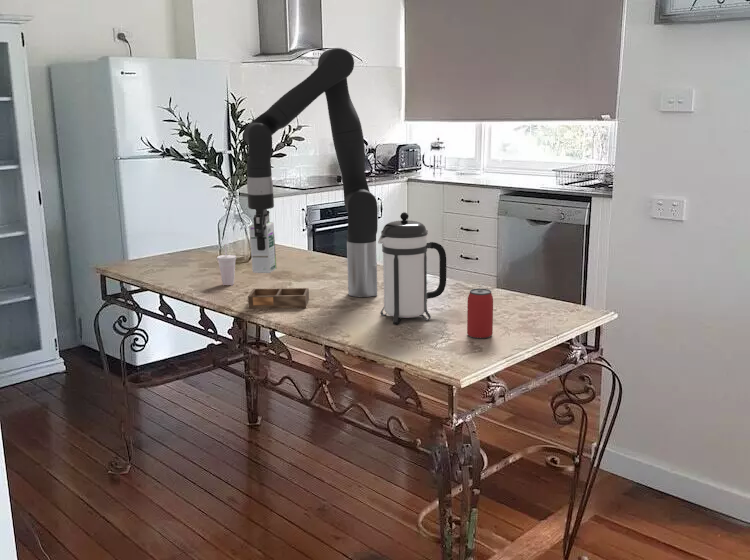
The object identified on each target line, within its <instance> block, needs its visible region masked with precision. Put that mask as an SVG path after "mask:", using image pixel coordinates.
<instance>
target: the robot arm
mask: <svg viewBox="0 0 750 560" xmlns="http://www.w3.org/2000/svg"><path fill="white" fill-rule="evenodd" d="M354 67H355V60H354V57H353V55H352V53H351V52H350V51H349V50H347V49H345V48H342V47H333V48H331V49H328V50H325V51H323V52H322V53H321V54H320V56H319V57H318V62H317V68H316V69H315V70H314V71H313V72H312V73H311V74H309V76H308V77H306V78H305V79H303V81H301V82H299V83H298V84H297V85H295V86H294V87H293V88H291V89H289V90H288V91H287V92H285V93H284V95H282V96H281V97H280V98H279V99H277V100H276V101H275V102H274V103H273V104H272V105H270V106H269V108H268V109H267V110H266V111H264V112H263V113H261V114H259V116H257V117H256V118H254V119H253V120H252V121H250V122H249V124H247V125H246V126H245V128H244V130H243V132H242V133H243V140H244V142H245V143H246V144H247V145H248V158H247V160H246V173H247V181H246V189H247V191H246V192H247V203H248V204H247V205H248V206H247V207H248V208H249V209H250V210H255V214H254V215H253V218H252V220H253V224H254V231H255V237H256V238H257V249H258V250H265V230H266V225H267V223H269V222H270V209H273V208H274V207H275V204H274V203H275V200H274V184H273V177H272V161H271V160H272V151H273V150H272V149H273V135H274V134H275V133H276V132H278V131H279V130H280V129H283V128H285V127H287V126H288V125H289V124H290V123H292V121H293V120H295V119H296V118H297V117H298V116H299V115H300V114H301V113H302V112H304V110H306V108H308V107H309V106H310V105H311V104H312V103H313V102H314V101H315V100H317V98H319V97H320V96H321V95H322V94H324V95H325V97H326V98H325V100H326V104H327V110H328V111H327V112H328V118H329V119H328V120H329V123H330V128H331V129H330V131H331V136H332V142H333V148H334V150H335V155H336V159H337V163H338V167H339V169H340V173H341V180H342V189H343V190H342V191H343V200H344V201H343V202H344V203H343V205H344V208H345V210H346V212H347V231H346V258H347V259H346V260H347V261H346V263H347V265H346V266H347V293H348V294H347V295H349V296H350V297H353V298H354V297H356V298H369V297H377V296H378V262H377V260H378V259H377V255H378V254H377V233H378V227H379V226H378V223H379V222H378V220H379V218H378V217H379V216H378V212H379V211H378V201H377V198H376V197H375V195H374V194H373V193H372V192H371V191H370V187H369V184H368V180H367V177H366V171H365V157H366V156H365V154H366V153H365V152H366V151H365V147H366V146H365V139H364V134H363V128H362V123H361V121H360V117H359V115H358V112H357V110H356V108H355V106H354V104H353V101H352V99H351V96H350V92H349V85H348V77H349V76H350V75H351V74H352V72H353V70H354ZM263 225H264V227H263ZM259 230H261V233H258V231H259Z"/></svg>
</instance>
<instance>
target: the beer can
mask: <svg viewBox="0 0 750 560" xmlns="http://www.w3.org/2000/svg"><path fill="white" fill-rule="evenodd" d="M466 309H467V312H466V313H467V319H466V321H467V325H466V327H467V328H466V329H467V330H466V333H467V336H468V337H471V338H473V339H478V340H480V339H481V340H482V339H483V340H484V339H488V338H491V336H493V333H494V331H493V327H494V325H493V324H494V323H493V322H494V297H493V294H492V290H491V289H489V288H488V289H487V288H481V287H479V288H478V287H477V288H472V289H470V290H469V293H468V296H467V308H466Z"/></svg>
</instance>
